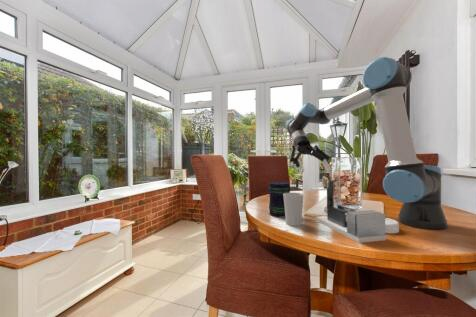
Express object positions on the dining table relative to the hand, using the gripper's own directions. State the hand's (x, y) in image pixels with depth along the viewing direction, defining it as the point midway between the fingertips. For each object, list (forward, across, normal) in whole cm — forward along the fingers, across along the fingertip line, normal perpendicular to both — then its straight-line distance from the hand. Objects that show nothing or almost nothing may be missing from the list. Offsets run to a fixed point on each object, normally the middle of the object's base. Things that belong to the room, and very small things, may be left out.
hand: (316, 171), depth 105 cm
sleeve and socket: (+29, 0, +3) cm, 29 cm away
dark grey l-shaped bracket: (+24, 0, 0) cm, 24 cm away
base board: (+29, 0, 0) cm, 29 cm away
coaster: (+31, -13, +2) cm, 34 cm away
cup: (+21, +16, -8) cm, 28 cm away
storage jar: (+11, +16, -18) cm, 26 cm away
